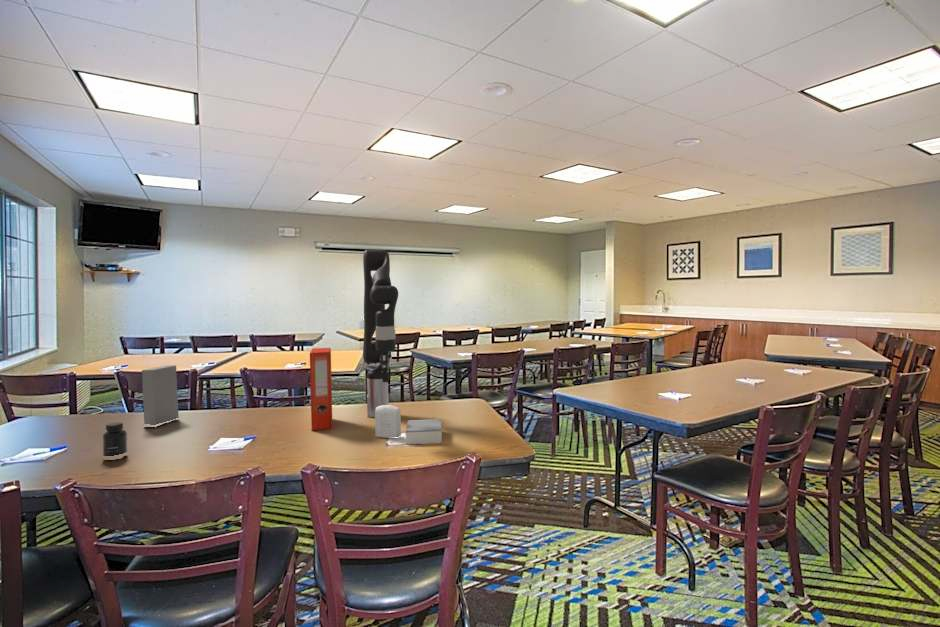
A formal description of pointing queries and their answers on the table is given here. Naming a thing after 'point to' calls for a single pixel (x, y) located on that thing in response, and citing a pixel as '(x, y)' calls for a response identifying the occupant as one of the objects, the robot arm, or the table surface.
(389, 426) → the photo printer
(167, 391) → the grey upright panel
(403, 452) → the table surface
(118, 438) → the supplement bottle
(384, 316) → the robot arm
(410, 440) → the plinth
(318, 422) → the file binder
